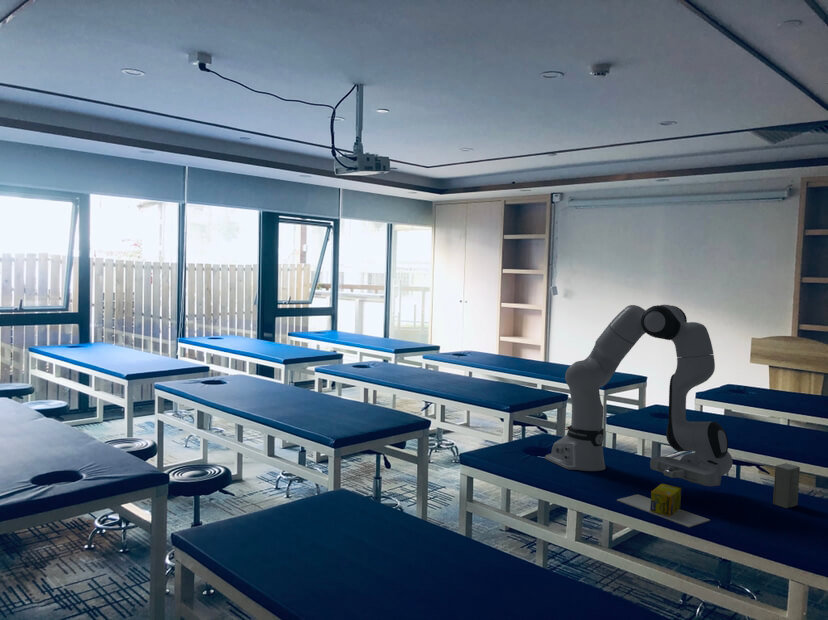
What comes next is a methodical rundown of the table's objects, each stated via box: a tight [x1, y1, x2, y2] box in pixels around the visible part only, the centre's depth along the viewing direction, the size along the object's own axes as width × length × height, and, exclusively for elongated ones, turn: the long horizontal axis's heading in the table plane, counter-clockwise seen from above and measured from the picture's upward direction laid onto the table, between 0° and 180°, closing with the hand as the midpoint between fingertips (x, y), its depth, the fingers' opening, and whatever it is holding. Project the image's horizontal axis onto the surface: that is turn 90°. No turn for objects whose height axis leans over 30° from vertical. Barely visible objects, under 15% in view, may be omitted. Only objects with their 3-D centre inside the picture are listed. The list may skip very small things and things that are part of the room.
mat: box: [616, 493, 711, 528], centre depth 183 cm, size 24×10×1 cm, turn 34°
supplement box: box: [650, 483, 683, 516], centre depth 183 cm, size 6×6×11 cm
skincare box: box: [772, 463, 801, 509], centre depth 191 cm, size 6×4×12 cm
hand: (667, 473), depth 187 cm, fingers closed
